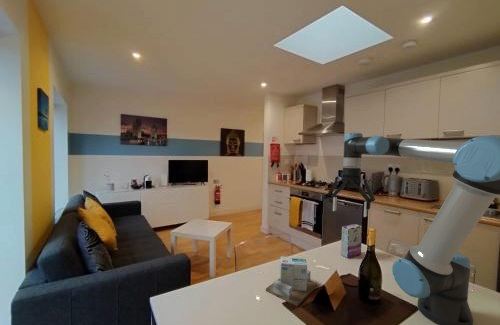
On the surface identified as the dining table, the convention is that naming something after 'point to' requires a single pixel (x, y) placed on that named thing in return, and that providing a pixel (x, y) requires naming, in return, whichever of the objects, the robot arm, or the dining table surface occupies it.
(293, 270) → the light bulb box
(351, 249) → the candy bar box
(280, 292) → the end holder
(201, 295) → the dining table surface
